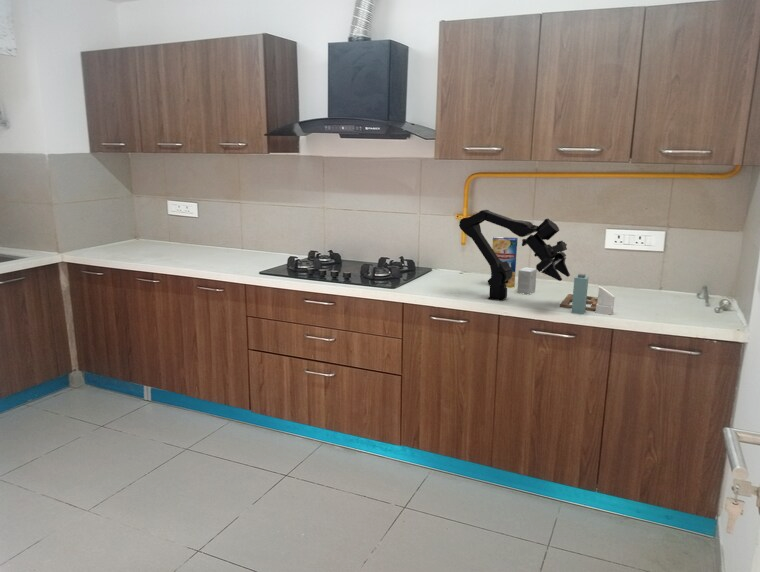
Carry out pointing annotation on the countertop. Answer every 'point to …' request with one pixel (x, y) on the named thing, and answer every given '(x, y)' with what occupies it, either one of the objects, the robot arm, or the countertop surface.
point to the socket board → (592, 301)
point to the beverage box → (506, 254)
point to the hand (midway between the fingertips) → (565, 278)
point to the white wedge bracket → (605, 302)
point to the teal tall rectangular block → (580, 294)
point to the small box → (526, 280)
